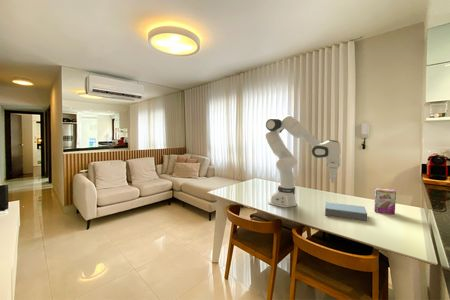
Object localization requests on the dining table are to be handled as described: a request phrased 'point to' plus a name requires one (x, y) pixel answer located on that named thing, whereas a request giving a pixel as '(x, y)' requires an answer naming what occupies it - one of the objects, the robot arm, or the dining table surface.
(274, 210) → the dining table surface
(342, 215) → the cable duct
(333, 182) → the robot arm
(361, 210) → the panel
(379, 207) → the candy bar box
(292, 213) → the dining table surface
